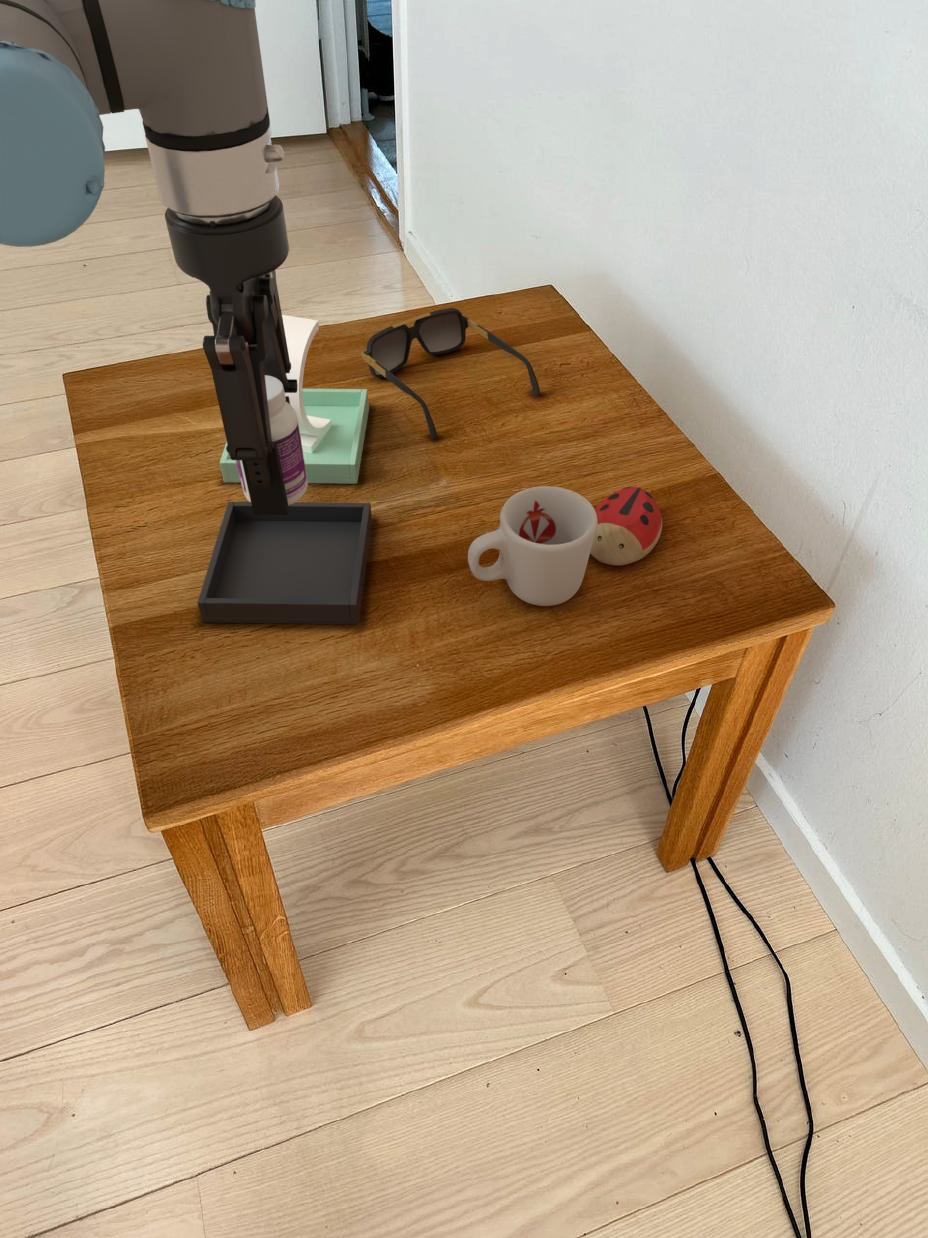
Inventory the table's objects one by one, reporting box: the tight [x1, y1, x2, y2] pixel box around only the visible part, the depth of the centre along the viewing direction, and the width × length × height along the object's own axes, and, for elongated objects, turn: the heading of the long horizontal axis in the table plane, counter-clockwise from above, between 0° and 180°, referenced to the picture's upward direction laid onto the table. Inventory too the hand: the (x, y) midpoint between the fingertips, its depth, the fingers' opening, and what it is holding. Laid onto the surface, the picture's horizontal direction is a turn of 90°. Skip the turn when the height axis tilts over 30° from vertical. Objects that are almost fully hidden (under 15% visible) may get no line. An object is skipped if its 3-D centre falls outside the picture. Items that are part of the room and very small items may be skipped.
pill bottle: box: [236, 375, 309, 505], centre depth 73 cm, size 5×5×10 cm
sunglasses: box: [360, 307, 541, 439], centre depth 101 cm, size 14×15×5 cm
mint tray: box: [219, 388, 370, 485], centre depth 95 cm, size 13×13×2 cm
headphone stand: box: [282, 314, 332, 453], centre depth 91 cm, size 5×6×12 cm
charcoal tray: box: [196, 501, 373, 625], centre depth 82 cm, size 13×13×2 cm
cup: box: [467, 485, 597, 607], centre depth 78 cm, size 11×8×8 cm
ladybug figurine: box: [590, 486, 663, 566], centre depth 85 cm, size 7×10×4 cm
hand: (277, 487), depth 76 cm, fingers closed on pill bottle, 5 cm apart
